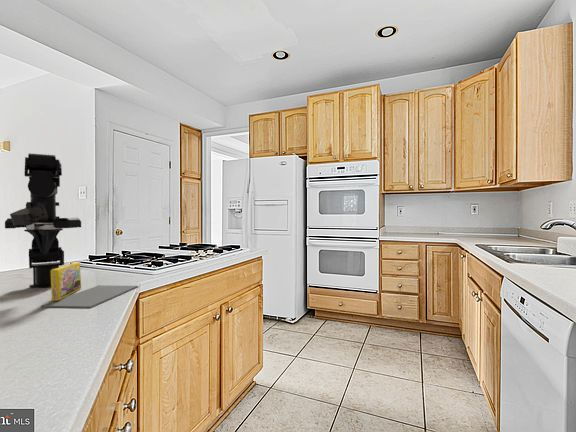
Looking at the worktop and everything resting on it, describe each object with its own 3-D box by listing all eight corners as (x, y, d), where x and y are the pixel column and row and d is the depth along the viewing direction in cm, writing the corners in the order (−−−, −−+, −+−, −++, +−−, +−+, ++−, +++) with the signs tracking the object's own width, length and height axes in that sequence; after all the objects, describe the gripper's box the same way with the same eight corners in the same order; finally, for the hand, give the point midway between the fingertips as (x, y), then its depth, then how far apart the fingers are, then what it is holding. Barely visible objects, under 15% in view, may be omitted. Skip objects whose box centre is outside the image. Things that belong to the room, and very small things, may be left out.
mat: (41, 307, 82) (41, 305, 82) (98, 286, 104) (98, 285, 104) (90, 308, 81) (90, 306, 81) (138, 287, 103) (138, 285, 103)
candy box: (60, 300, 85) (57, 269, 85) (51, 302, 85) (48, 270, 84) (82, 288, 101) (80, 261, 101) (74, 289, 100) (72, 262, 100)
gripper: (-16, 197, 85) (-15, 257, 86) (51, 197, 84) (52, 257, 84) (22, 199, 96) (23, 252, 97) (82, 198, 95) (83, 252, 95)
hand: (44, 253), depth 93 cm, fingers closed
